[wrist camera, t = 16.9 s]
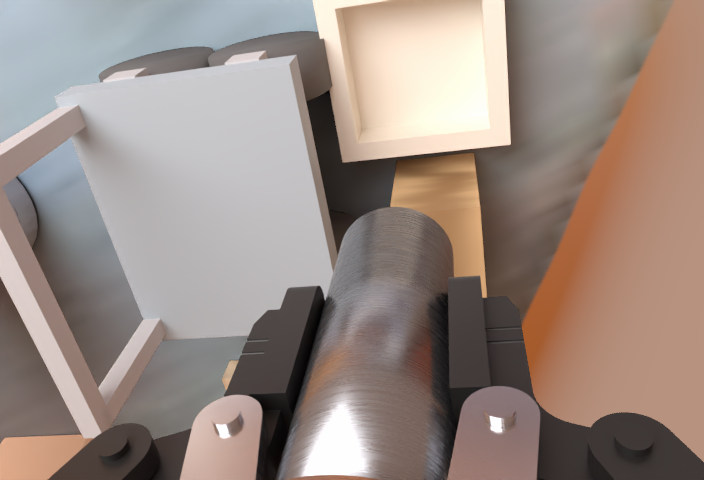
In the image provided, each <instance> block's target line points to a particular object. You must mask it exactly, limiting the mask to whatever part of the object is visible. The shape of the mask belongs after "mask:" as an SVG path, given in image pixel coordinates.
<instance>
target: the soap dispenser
mask: <svg viewBox="0 0 704 480" xmlns="http://www.w3.org/2000/svg"><path fill="white" fill-rule="evenodd" d="M92 439H94V438H83V436H82V434H81V435H57V436H33V437H9V438H5V439H4V440H3V441H2V443H1V444H0V480H48V479H49V478H50V477H51V476H52V475H53V474H54V473H55V472H57V471H58V470H59V469H60V468H61V467H62V466H63V465H64V464H66V463H67V462H68V461H69V460H70V459H71V458H72V457H73V456H75V455H76V454H77V453H78V452H79V451H80V450H81V449H82V448H83V447H85V446H86V445H87V444H88V443H89V442H90V441H91V440H92Z"/></svg>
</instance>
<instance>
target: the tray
mask: <svg viewBox="0 0 704 480" xmlns="http://www.w3.org/2000/svg"><path fill="white" fill-rule="evenodd" d="M313 4H314V10H315V15H316V21H317V26H318V31H319V37H320V39H323V38H324V42H325V48H326V53H327V59H328V64H329V70H330V75H331V81H332V87H331V88H330V89H329V91H330V96H331V102H332V107H333V113H334V118H335V124H336V129H337V134H338V140H339V145H340V151H341V156H342V162H343V163H344V162H354V161H363V160H372V159H382V158H391V157H400V156H410V155H419V154H428V153H438V152H447V151H456V150H466V149H475V148H484V147H493V146H503V145H511V138H510V116H509V93H508V71H507V48H506V26H505V4H504V0H313Z"/></svg>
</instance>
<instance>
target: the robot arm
mask: <svg viewBox="0 0 704 480" xmlns="http://www.w3.org/2000/svg"><path fill="white" fill-rule="evenodd" d="M3 189H4V191H5V194H6V196H7V198H8V200H9V202H10V204H11V206H12V208H13V210H14V213H15V215H16V217H17V219H18V221H19V223H20V225H21V227H22V229H23V231H24V234H25V236H26V238H27V240H28V242H29V244H30V246H31V248H32V247H33V245H34V242H35V240H36V237H37V229H38V224H37V216H36V212H35V209H34V206H33V203H32V201H31V199H30V197H29V195H28V194H27V192H26V190H25V188H24V187H23V186H22V185H21V183H20V182H19V181H18V180H17V178H16V177H15V178H14V179H12V180H11V181H10V182H8V183H7V184H5V185H4V186H3ZM0 279H1V277H0ZM324 304H325V298H324V294H323V290H322V288H321V286H306V287H291V288H288V289H287V291H286V294H285V297H284V299H283V302H282V305H281V308H280V309H277V310H267V311H266V312H265V313H264V314H263V315H262V316H261V317H260V318H259V319H258V320H257V321H256V322H255V323H254V325H253V327H252V330H251V332H250V334H249V337H248V339H247V343H246V344H245V347H244V349H243V351H242V356H240V359H239V361H238V363H237V366H236V368H235V371H234V373H233V376H232V378H231V380H230V383H229V385H228V388H227V390H226V393H225V395H224V397H223V398H220V399H218V400H215V401H214V402H212V403H210V404H209V405H207V406H206V407H205V408H204V409H203V410H202V411H200V413H199V414H198V415H197V417H196V418H195V420H194V423H193V425H192V428H191V429H189V430H186V431H183V432H180V433H176V434H172V435H169V436H165V437H162V438H158V439H155V440H153V438H152V436H151V434H150V432H149V430H148V429H147V428H146V427H144V426H142V425H139V424H133V423H131V424H122V425H118V426H115V427H112V428H110V429H108V430H106V431H104V432H102V433H101V434H99V435H98V436H96V437H95V438H94V439H92V440H91V441H90V442H89V443H88V444H87V445H86V446H85V447H83V448H82V449H81V450H80V451H79V452H78V453H77V454H76V455H75V456H73V457H72V458H71V459H70V460H69V461H68V462H67V463H66V464H64V465H63V466H62V467H61V468H60V469H59V470H58V471H57V472H55V473H54V474H53V475H52V476H51V477H50V478H49V479H48V480H275V478H276V475H277V471H278V468H279V464H280V460H281V457H282V453H283V450H284V446H285V443H286V439H287V436H288V432H289V428H290V425H291V421H292V418H293V414H294V411H295V407H296V404H297V400H298V396H299V393H300V389H301V386H302V382H303V379H304V375H305V371H306V368H307V364H308V361H309V357H310V354H311V350H312V347H313V343H314V339H315V336H316V332H317V329H318V325H319V322H320V318H321V315H322V311H323V307H324ZM448 324H449V389H450V398H451V407H452V415H453V417H454V419H455V422H456V425H457V433H456V438H455V443H454V448H453V453H452V458H451V463H450V468H449V473H448V478H447V480H704V462H703V461H702V460H701V459H700V458H698V457H697V456H696V455H695V454H694V453H693V452H692V451H691V450H690V449H689V448H688V447H687V446H686V445H685V444H684V443H683V442H682V441H681V440H680V439H679V438H677V437H676V436H675V435H674V434H673V433H672V432H671V431H670V430H669V429H668V428H666V427H665V426H664V425H663V424H661V423H660V422H658V421H656V420H654V419H652V418H650V417H647V416H644V415H640V414H636V413H614V414H610V415H607V416H604V417H602V418H600V419H599V420H597V421H596V422H595V423H594V424H593V425H592V427H591V428H590V427H585V426H581V425H576V424H572V423H569V422H565V421H563V420H560V419H558V418H556V417H554V416H552V415H551V414H549V413H548V412H546V411H545V410H544V409H543V408H542V407H541V406H540V405H539V403H538V402H537V401H536V399H535V397H534V394H533V390H532V384H531V378H530V372H529V367H528V361H527V355H526V349H525V344H524V339H523V332H522V327H521V321H520V315H519V310H518V309H517V308H516V307H515V305H514V304H513V303H512V302H511V301H510V300H509V299H508V298H507V297H506V296H503V297H486V298H482V288H481V278H480V275H479V276H464V277H448Z"/></svg>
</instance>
